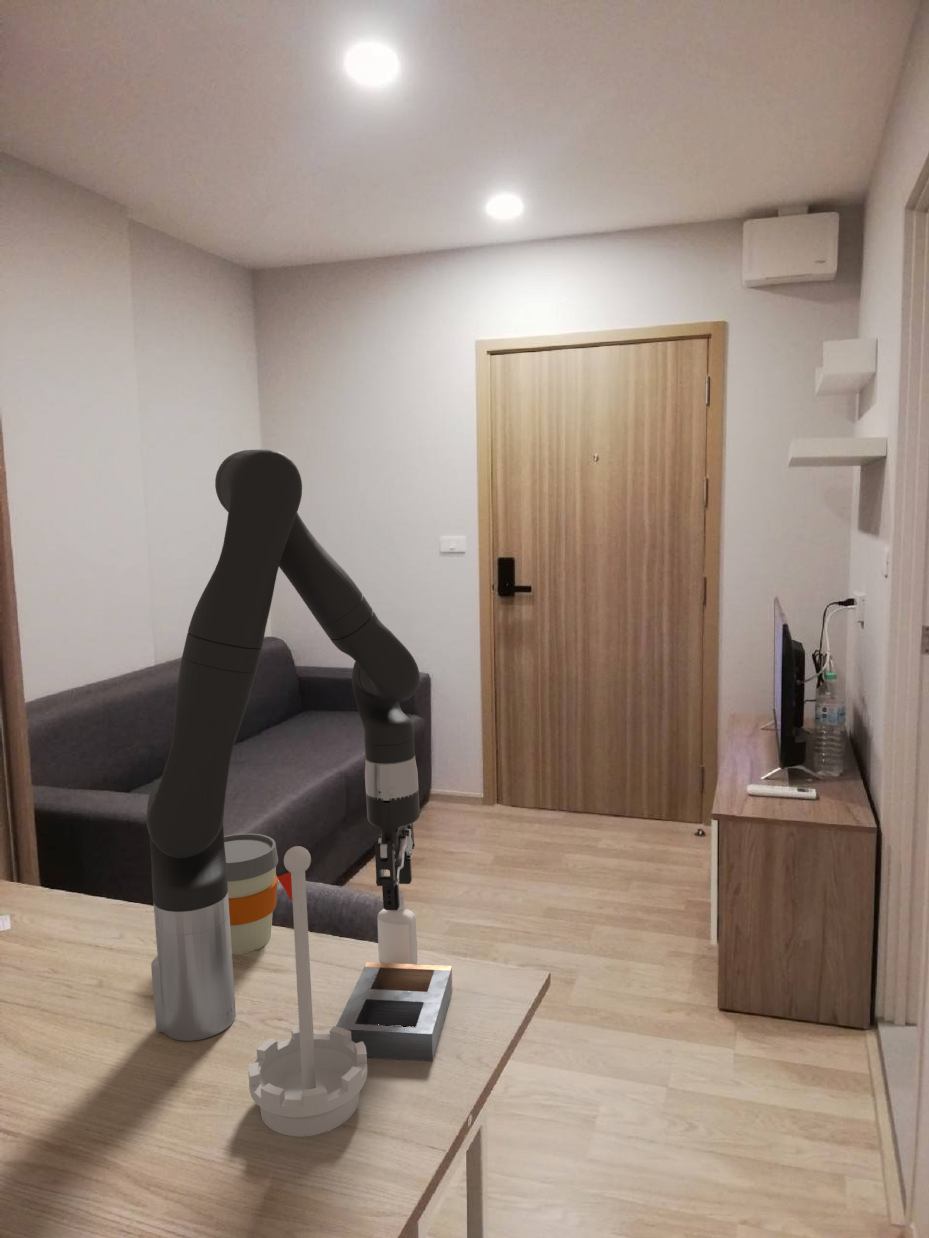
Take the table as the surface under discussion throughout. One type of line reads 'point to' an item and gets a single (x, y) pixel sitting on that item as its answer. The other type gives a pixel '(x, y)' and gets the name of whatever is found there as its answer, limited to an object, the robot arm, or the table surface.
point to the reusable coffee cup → (250, 889)
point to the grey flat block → (398, 1009)
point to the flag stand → (306, 1046)
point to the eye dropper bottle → (397, 935)
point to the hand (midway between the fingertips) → (398, 895)
